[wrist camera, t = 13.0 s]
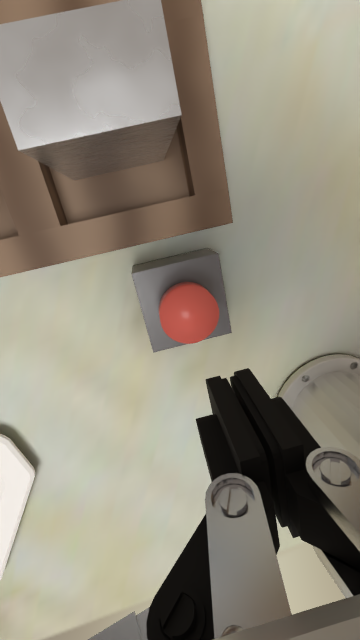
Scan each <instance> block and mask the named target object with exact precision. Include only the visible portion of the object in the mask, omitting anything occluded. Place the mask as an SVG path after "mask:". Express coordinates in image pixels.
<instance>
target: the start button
mask: <svg viewBox="0 0 360 640" xmlns="http://www.w3.org/2000/svg"><path fill="white" fill-rule="evenodd" d="M159 317H160V322H161V326H162V328H163V330H164V332H165V333H166V334H167V335H168V336H169V337H170V338H171V339H173V340H175V341H177V342H180V343H186V344H190V343H196V342H199V341H202V340H204V339H205V338H207V337H208V336H209V335H210V334H211V333H212V332H213V331H214V329H215V328H216V326H217V323H218V320H219V307H218V304H217V302H216V300H215V298H214V297H213V296H212V295H211V294H210V293H209V291H208V290H207V289H206V288H204V287H203V286H201V285H199V284H197V283H193V282H182V283H178V284H176V285H174V286H172V287H170V288H169V289H168V290H167V291H166V292H165V293H164V295H163V296H162V298H161V300H160V303H159Z"/></svg>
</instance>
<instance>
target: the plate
mask: <svg viewBox="0 0 360 640" xmlns="http://www.w3.org/2000/svg"><path fill="white" fill-rule="evenodd" d="M34 478H35V470H34V467H33V466H32V465H31V464H30V462H29V461H28V460H27V459H26V457H25V456H24V455H23V454H22V453H21V451H20V450H19V449H18V448H17V447H16V445H15V444H14V443H13V442H12V441H11V439H10V438H8V437H6V436H5V435H3V434H0V580H1V578H2V576H3V573H4V570H5V567H6V564H7V561H8V557H9V554H10V551H11V548H12V545H13V542H14V539H15V536H16V533H17V530H18V527H19V524H20V521H21V518H22V515H23V512H24V508H25V505H26V502H27V499H28V496H29V493H30V490H31V487H32V484H33V481H34Z"/></svg>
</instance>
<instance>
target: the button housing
mask: <svg viewBox="0 0 360 640" xmlns="http://www.w3.org/2000/svg"><path fill="white" fill-rule="evenodd" d="M132 277H133V281H134V284H135V288H136V291H137V295H138V299H139V302H140V306H141V310H142V313H143V317H144V320H145V324H146V328H147V331H148V335H149V338H150V342H151V346H152V349H153V352H157V351H161V350H165V349H169V348H173V347H177V346H181V345H185V344H186V343H180V342H177V341H175V340H173V339H171V338H170V337H169V336H168V335H167V334H166V333H165V332H164V330H163V328H162V326H161V322H160V317H159V303H160V300H161V298H162V296H163V295H164V293H165V292H166V291H167V290H168V289H169V288H170V287H172V286H174V285H176V284H178V283H182V282H193V283H197V284H199V285H201V286H203V287H204V288H206V289H207V290H208V291H209V293H210V294H211V295H212V296H213V297H214V298H215V300H216V302H217V304H218V307H219V320H218V323H217V326H216V328H215V329H214V331H213V332H212V333H211V334H210V335H209V336H208V337H207V338H205V339H209V338H213V337H217V336H221V335H225V334H229V333H232V332H231V326H230V320H229V314H228V308H227V302H226V296H225V290H224V284H223V278H222V272H221V266H220V260H219V254H218V253H217V252H215V251H213V250H211V249H209V248H205V249H201V250H197V251H192V252H188V253H184V254H180V255H176V256H171V257H167V258H163V259H159V260H155V261H150V262H146V263H142V264H138V265H134V266H133V268H132ZM205 339H204V340H205Z"/></svg>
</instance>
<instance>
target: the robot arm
mask: <svg viewBox="0 0 360 640" xmlns="http://www.w3.org/2000/svg"><path fill="white" fill-rule="evenodd" d="M230 382H231V386H230V384H229V382H228V380H227V379H226V378H224V379H221V377H220V376H217V377H213V378H209V379H206V384H207V389H208V394H209V398H210V403H211V408H212V412H213V415H209V416H205V417H201V418H198V419H196V422H197V427H198V431H199V435H200V439H201V443H202V447H203V451H204V455H205V458H206V462H207V466H208V469H209V473H210V477H211V480H212V483H211V484H210V485H209V487H208V489H207V491H206V498H205V504H206V515H205V516H204V518H203V519H202V521H201V523H200V524H199V526H198V527H197V529H196V531H195V532H194V534H193V536H192V537H191V539H190V540H189V542H188V544H187V545H186V547H185V548H184V550H183V552H182V553H181V555H180V557H179V558H178V560H177V561H176V563H175V565H174V566H173V568H172V569H171V571H170V573H169V574H168V576H167V578H166V579H165V581H164V582H163V584H162V586H161V587H160V589H159V591H158V592H157V594H156V595H155V597H154V599H153V601H152V604H151V606H150V607H149V608H148V609H146V610H144V611H143V612H141V613H139V614H138V615H136V614H135V611H134V612H132V613H131V614H129V615H128V616H126V617H124V618H123V619H121V620H119V621H118V622H116V623H114V624H113V625H111V626H110V627H108V628H106V629H104V630H103V631H102V632H100V633H98V634H96V635H95V636H93V637H91V638H90V639H88V640H360V359H359V358H356V357H353V356H350V355H343V354H336V355H328V356H324V357H320V358H317V359H315V360H313V361H311V362H309V363H307V364H305V365H304V366H302V367H301V368H299V369H298V370H297V371H296V372H295V373H294V374H293V375H291V377H290V378H289V379H288V380H287V381H286V383H285V384H284V385H283V387H282V389H281V391H280V392H279V395H278V397H276V398H273V399H270V397H269V396H268V394H267V393H266V392H265V390H264V389H263V387H262V386H261V385H260V383H259V382H258V380H257V379H256V378H255V376H254V375H253V373H252V372H251V371H250V369H249V368H247V369H244V370H240V371H236V372H234V376H232V377H230ZM231 387H232V388H231ZM275 514H276V516H275ZM276 517H277V519H278V521H279V523H280V525H281V527H286V526H288V528H289V530H290V532H291V535H292V537H293V538H295V537H298V536H300V538H301V540H303V541H305V542H307V543H309V544H311V545H313V548H314V550H315V552H316V554H317V556H318V558H319V559H320V561H321V562H322V564H323V565H324V567H325V568H326V570H327V571H328V572H329V574H330V575H331V577H332V578H333V580H334V581H335V583H336V584H337V586H338V587H339V589H340V590H341V592H342V593H343V595H344V596H345V598H346V599H342V600H339V601H336V602H332V603H329V604H326V605H323V606H319V607H316V608H313V609H310V610H306V611H303V612H300V613H297V614H294V615H292V614H291V611H290V607H289V603H288V599H287V595H286V591H285V588H284V583H283V580H282V576H281V572H280V568H279V564H278V560H277V556H276V555H277V552H278V549H279V547H280V544H279V537H278V530H277V523H276Z"/></svg>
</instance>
